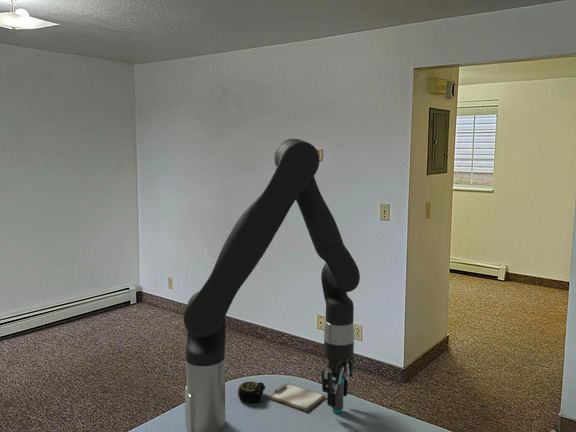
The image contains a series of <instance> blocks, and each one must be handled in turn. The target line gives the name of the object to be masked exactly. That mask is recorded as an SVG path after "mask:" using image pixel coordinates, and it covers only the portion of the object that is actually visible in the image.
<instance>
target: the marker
mask: <svg viewBox="0 0 576 432" xmlns="http://www.w3.org/2000/svg"><path fill="white" fill-rule="evenodd" d="M333 380H337V379H336V378H333ZM333 388H334V383H333ZM343 394H344V377H343V376H341V381H340V384H338V386H337V391H336V406H335V407H332V406H331V409H332V413H333V414H337V415H340V414H342V413H343V409H344V396H343Z"/></svg>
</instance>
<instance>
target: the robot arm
mask: <svg viewBox="0 0 576 432" xmlns="http://www.w3.org/2000/svg"><path fill="white" fill-rule="evenodd" d="M320 160H321V159H320V154H319V151H318V150H317V148H316V147H315V146H314V145H313V144H311V143H310V142H308V141H305V140H302V139H300V138H299V139H298V138H288V139H284V141H282V142H281V143H279V144H278V146H277V148H276V149H275V153H274V164H275V166H276V168H275V171H274V173H273V174H272V176H271V178H270V180H269V182H268V184H267V185H266V187H265V189H264V190H263V191H262V193H260V195H259V196H258V197H257V198H256V199H255V200H254V201H253V202H252V203H250V205H249V206H248V207H247V208H246V209H245V211H243V213H241V215H240V217H239V218H238V219H237V220H236V223H235V224H234V226H233V227H232V229H231V231H230V232H229V234H228V236H227V239H226V240H225V241H224V244H223V245H222V248H221V250H220V252H219V255H218V257H217V259H216V262H215V264H214V267H213V269H212V271H211V273H210V275H209V277H208V278H207V279H206V282H205V283H204V284H203V285H202V287H201V288H200V290H199V291H197V292H195V293H194V294H192V296H191V297H190V298H189V300H188V302H187V304H186V306H185V308H184V312H183V324H184V327H185V329H186V331H187V338H186V346H185V365H186V369H185V370H186V371H185V372H186V373H185V374H186V386H184V409H185V412H184V413H185V414H184V415H185V417H184V419H185V421H184V422H185V425H186V428H187V430H188V432H221V431H222V430H223V429H224V428H225V426H226V358H225V357H226V353H225V352H226V315H227V314H228V311H229V308H230V307H231V305H232V303H233V301H234V299H235V297H236V295H237V293H238V292H239V290H240V289H241V287H242V285H244V283H245V282H246V281H247V279H248V278H249V276H251V274H252V272H253V271H254V269H255V268H256V267H257V265H258V264H259V262H260V260H261V259H262V258H263V256H264V254H265V253H266V252H267V249H268V248H269V246H270V245H271V243H272V241H273V239H274V238H275V236H276V235H277V232H278V231H279V229H280V227H281V226H282V224H283V222H284V220H285V219H286V217H287V214H288V213H289V211H290V209H291V208H292V206H293V205H294V203H295V201H296V203H297V206H298V209H299V210H300V213H301V216H302V218H303V221H304V224H305V227H306V230H307V232H308V234H309V236H310V240H311V243H312V245H313V247H314V249H315V252H316V254H317V256H318V257H319V258H321V260H323V261H324V262H325V263H324V265H323V267H322V269H321V276H320V277H321V278H320V279H321V286H322V287H321V288H322V291H323V297H324V301H325V324H324V332H323V333H324V335H323V340H324V341H323V354H324V357H325V358H326V359H327V360H328V364H327V369H322V370H321V383H322V384H321V385H322V386H321V387H322V388H321V389H322V392H323V393H326V394H327V395H326V398H327V399H326V401H327V402H326V403H327V404H326V405H327V406H329V407H331V408H332V407H335V406H336V391H337V386H338V384H340V381H341V376H343V377H344V394H343V397H347V396H348V394H349V393H348V391H349V382H350V380H351V379H350V378H352V377H353V375H354V374H353V373H354V363H355V362H354V361H355V355H354V352H355V351H354V349H355V347H354V346H355V327H354V316H355V315H354V314H355V313H354V311H355V308H354V301H353V300H352V299H351V297H349V295H348V293H350V292H353V291H355V290H356V289H357V288H358V286H359V284H360V282H361V281H360V280H361V275H360V270H359V267H358V265H357V263H356V261H355V260H354V258H353V256H352V254H351V253H350V252H349V250H348V248H347V247H346V245H345V243H344V241H343V238H342V235H341V232H340V231H339V227H338V225H337V223H336V220H335V218H334V216H333V214H332V212H331V210H330V208H329V207H328V205H327V203H326V201H325V200H324V197H323V195H322V193H321V191H320V189H319V187H318V184H317V181H316V178H315V175H316V174H317V171H318V170H319V166H320ZM333 378H336V379H337V380H333ZM333 383H334V388H333Z"/></svg>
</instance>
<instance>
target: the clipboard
mask: <svg viewBox="0 0 576 432" xmlns="http://www.w3.org/2000/svg"><path fill="white" fill-rule="evenodd" d="M326 398H327V395H325V394H322V393H319V392H316V391H313V390H309V389H307V388H303V387H301V386H298V385H295V384H291V383H287V384H285V383H283V384H281V385H280V386H278V387H276V388H275V389H274V392H273V393H272V394H270V395H269V396H268V400H270V401H272V400H273V402H276V403H279V404H282V405H284V406H287V407H290V408H293V409H295V410H298V411H301V412H304V413H307V414H308V413H309V412H310V411H311V410H312V409H314V408H315V407H316V406H318V405H319V404H320V403H321V402H322V401H324V400H325V399H326Z"/></svg>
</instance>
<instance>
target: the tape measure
mask: <svg viewBox="0 0 576 432" xmlns="http://www.w3.org/2000/svg"><path fill="white" fill-rule="evenodd" d="M265 389H266V385H265V384H264V383H263V382H256V381H254V380H253V381H245V382H242V383H241V384H240V385H239V386H238V391H237V394H238V395H237V396H238V398H239V400H240V401H241V402H245V403H248V404H249V403H259V402H261V401H262V396H263V393H264V390H265Z"/></svg>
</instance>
